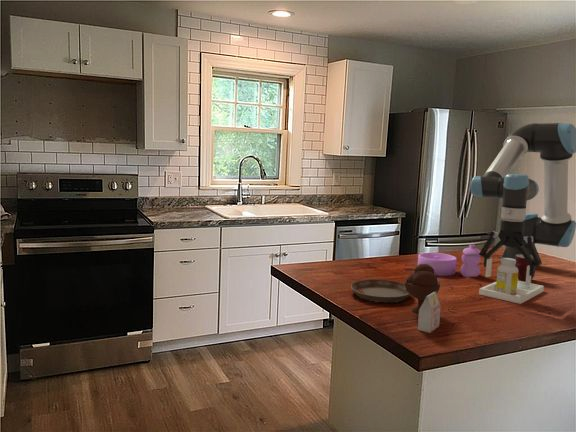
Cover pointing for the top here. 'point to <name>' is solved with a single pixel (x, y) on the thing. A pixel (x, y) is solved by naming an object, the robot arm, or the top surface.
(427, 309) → the tea bag
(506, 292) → the supplement bottle
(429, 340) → the top surface
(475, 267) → the container set
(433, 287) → the ice cream bowl
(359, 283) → the plant saucer
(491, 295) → the two-compartment tray
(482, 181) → the robot arm
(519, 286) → the light grey round disc
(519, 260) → the mug
